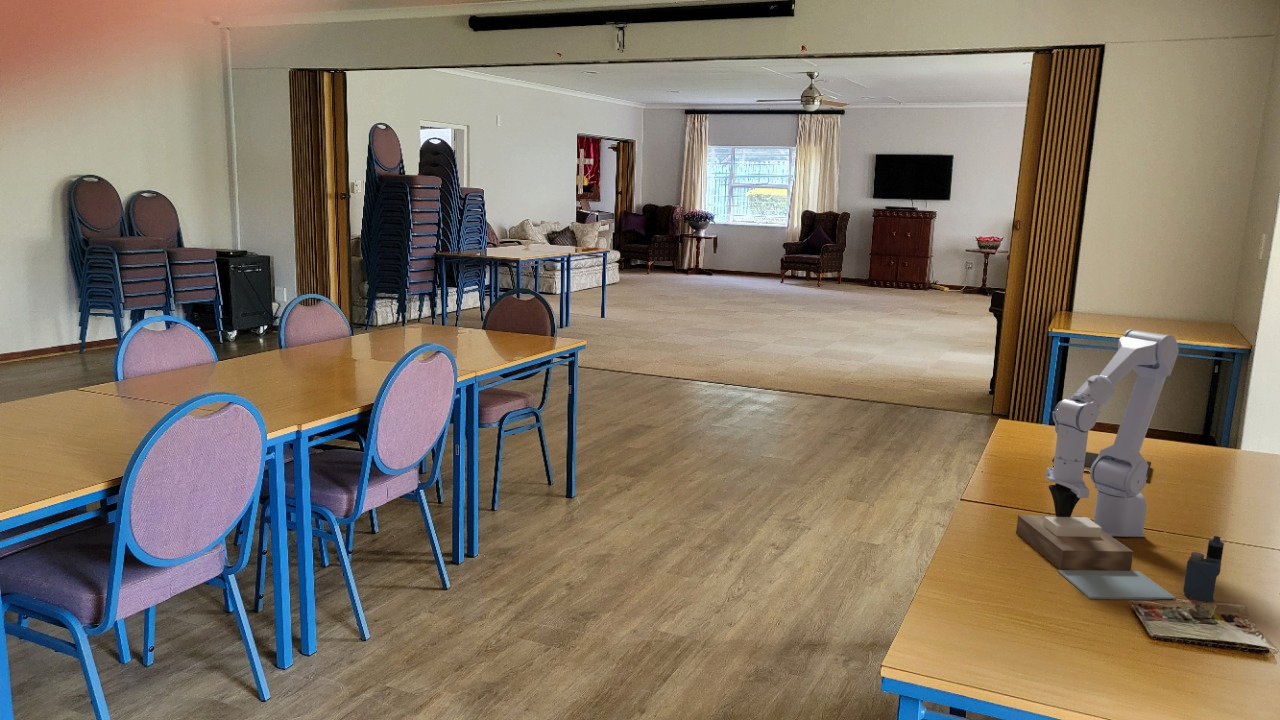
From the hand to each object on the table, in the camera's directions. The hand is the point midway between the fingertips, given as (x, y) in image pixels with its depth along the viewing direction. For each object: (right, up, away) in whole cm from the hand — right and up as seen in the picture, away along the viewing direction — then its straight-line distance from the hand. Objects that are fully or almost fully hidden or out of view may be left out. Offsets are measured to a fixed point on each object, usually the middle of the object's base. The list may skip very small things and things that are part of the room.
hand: (1062, 520), depth 197 cm
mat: (+1, -9, -20) cm, 22 cm away
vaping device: (+14, -10, -25) cm, 30 cm away
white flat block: (0, -2, -4) cm, 4 cm away
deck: (0, -6, -4) cm, 7 cm away
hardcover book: (+37, +4, +58) cm, 69 cm away
